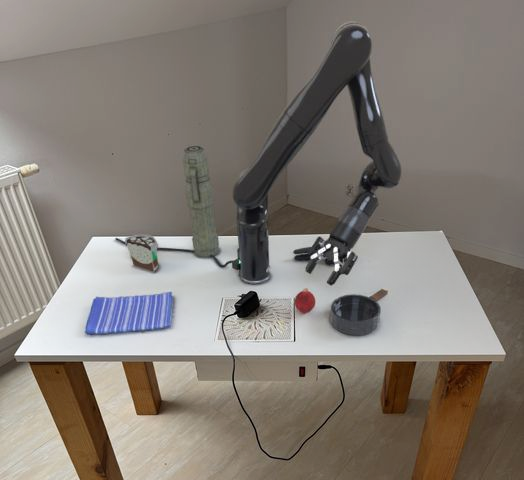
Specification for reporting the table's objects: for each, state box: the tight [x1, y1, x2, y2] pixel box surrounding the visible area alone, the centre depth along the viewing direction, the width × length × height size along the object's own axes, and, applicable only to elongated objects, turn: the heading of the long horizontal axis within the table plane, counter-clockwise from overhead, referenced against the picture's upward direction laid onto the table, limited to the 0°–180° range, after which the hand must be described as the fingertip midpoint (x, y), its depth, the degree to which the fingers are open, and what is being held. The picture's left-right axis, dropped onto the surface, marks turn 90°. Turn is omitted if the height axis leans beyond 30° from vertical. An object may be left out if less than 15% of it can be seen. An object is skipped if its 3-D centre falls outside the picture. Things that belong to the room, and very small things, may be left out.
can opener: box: [292, 246, 347, 266], centre depth 158 cm, size 18×7×6 cm, turn 82°
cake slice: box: [124, 233, 159, 274], centre depth 158 cm, size 12×6×10 cm, turn 58°
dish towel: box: [84, 291, 174, 335], centre depth 138 cm, size 17×24×3 cm
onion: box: [294, 287, 316, 314], centre depth 134 cm, size 6×6×8 cm
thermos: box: [182, 145, 220, 259], centre depth 156 cm, size 9×12×35 cm
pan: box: [329, 294, 382, 336], centre depth 130 cm, size 13×13×5 cm
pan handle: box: [368, 288, 389, 303], centre depth 135 cm, size 7×2×2 cm, turn 133°
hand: (318, 278), depth 132 cm, fingers open, 8 cm apart
